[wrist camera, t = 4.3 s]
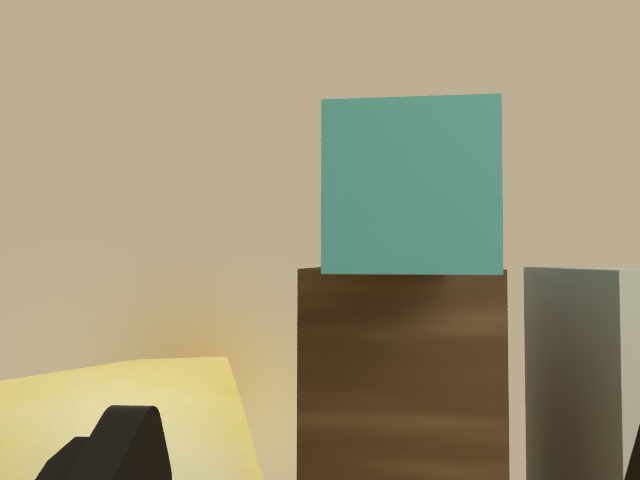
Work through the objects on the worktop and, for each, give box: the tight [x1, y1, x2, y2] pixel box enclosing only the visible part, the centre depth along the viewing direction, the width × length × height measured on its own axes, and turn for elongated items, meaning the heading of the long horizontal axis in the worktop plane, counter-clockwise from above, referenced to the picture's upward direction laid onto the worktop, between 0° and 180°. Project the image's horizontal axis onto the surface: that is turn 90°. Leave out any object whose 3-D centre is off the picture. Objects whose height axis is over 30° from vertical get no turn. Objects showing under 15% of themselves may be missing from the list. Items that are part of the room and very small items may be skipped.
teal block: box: [321, 94, 503, 275], centre depth 25 cm, size 26×4×4 cm, turn 173°
